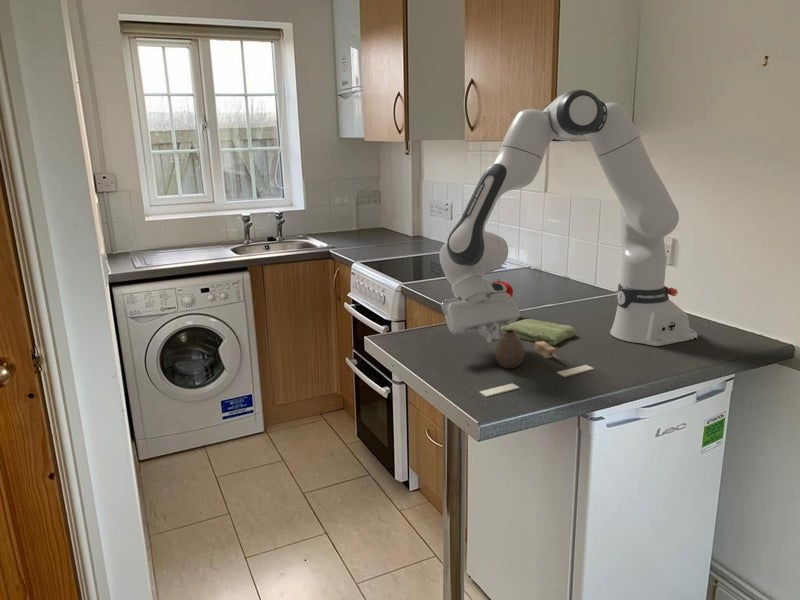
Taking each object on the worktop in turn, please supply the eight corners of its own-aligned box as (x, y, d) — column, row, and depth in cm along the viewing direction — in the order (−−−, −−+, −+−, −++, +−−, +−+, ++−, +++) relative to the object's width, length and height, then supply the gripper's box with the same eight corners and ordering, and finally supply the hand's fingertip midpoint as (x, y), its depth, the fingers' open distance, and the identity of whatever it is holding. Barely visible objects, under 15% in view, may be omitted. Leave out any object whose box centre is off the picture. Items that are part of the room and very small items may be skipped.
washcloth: (523, 324, 181) (523, 314, 180) (578, 337, 169) (578, 325, 168) (497, 335, 172) (497, 324, 171) (553, 349, 160) (553, 337, 159)
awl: (534, 351, 158) (535, 342, 157) (543, 349, 159) (543, 341, 158) (559, 367, 147) (559, 357, 146) (568, 365, 148) (568, 356, 147)
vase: (506, 358, 153) (507, 325, 151) (529, 365, 148) (530, 331, 146) (489, 365, 148) (489, 331, 146) (512, 373, 143) (513, 337, 141)
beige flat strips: (585, 366, 147) (586, 364, 147) (593, 369, 144) (593, 368, 144) (479, 392, 133) (479, 391, 133) (485, 397, 131) (485, 395, 131)
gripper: (443, 294, 151) (464, 342, 145) (509, 283, 160) (532, 328, 154) (434, 307, 156) (454, 354, 150) (499, 296, 165) (521, 340, 159)
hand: (494, 341), depth 152 cm, fingers closed
